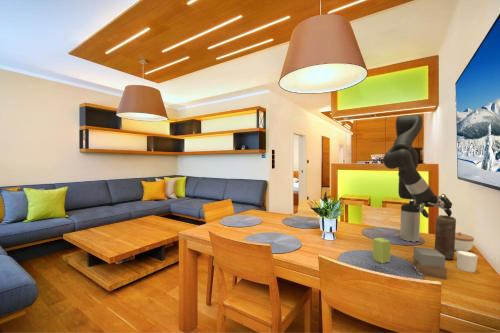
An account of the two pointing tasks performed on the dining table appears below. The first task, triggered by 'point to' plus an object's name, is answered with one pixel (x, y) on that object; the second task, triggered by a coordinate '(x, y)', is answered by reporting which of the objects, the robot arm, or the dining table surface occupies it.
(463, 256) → the white short cylinder
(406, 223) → the robot arm
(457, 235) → the lidded jar
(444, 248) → the candle
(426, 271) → the walnut base block
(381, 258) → the lime pillar
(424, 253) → the charcoal top block
